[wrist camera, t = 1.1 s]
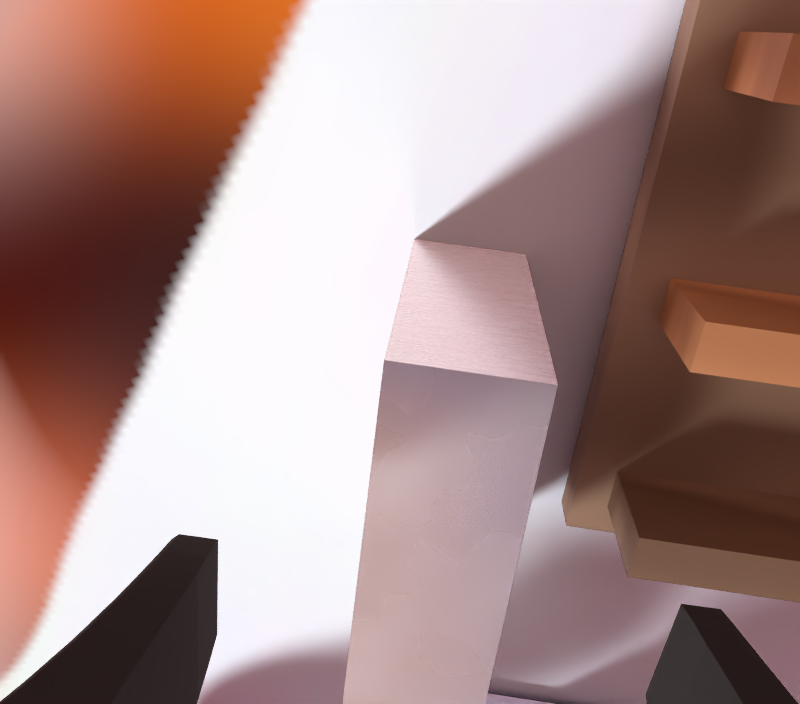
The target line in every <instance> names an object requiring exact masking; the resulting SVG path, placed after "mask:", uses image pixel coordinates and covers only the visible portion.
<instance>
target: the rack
mask: <svg viewBox="0 0 800 704" xmlns="http://www.w3.org/2000/svg"><path fill="white" fill-rule="evenodd" d="M562 506H563V511H564V516H565V521H566V526H573V527H580V528H586V529H593V530H600V531H607V532H613V533H615V535H616V538H617V542H618V545H619V549H620V552H621V556H622V559H623V563H624V566H625V570H626V573H627V577H633V578H640V579H647V580H653V581H660V582H667V583H673V584H680V585H687V586H693V587H700V588H707V589H713V590H720V591H727V592H733V593H740V594H747V595H753V596H760V597H767V598H773V599H780V600H787V601H793V602H800V0H686V2H685V6H684V10H683V14H682V18H681V22H680V26H679V30H678V34H677V38H676V42H675V46H674V50H673V55H672V59H671V63H670V67H669V71H668V75H667V79H666V83H665V87H664V91H663V95H662V99H661V103H660V107H659V111H658V115H657V119H656V123H655V127H654V131H653V135H652V139H651V143H650V147H649V151H648V155H647V159H646V163H645V168H644V172H643V176H642V180H641V184H640V188H639V192H638V196H637V200H636V204H635V208H634V212H633V216H632V220H631V224H630V228H629V232H628V236H627V240H626V244H625V248H624V252H623V256H622V260H621V264H620V268H619V272H618V276H617V281H616V285H615V289H614V293H613V297H612V301H611V305H610V309H609V313H608V317H607V321H606V325H605V329H604V333H603V337H602V341H601V345H600V349H599V353H598V357H597V361H596V365H595V369H594V373H593V377H592V381H591V385H590V390H589V394H588V398H587V402H586V406H585V410H584V414H583V418H582V422H581V426H580V430H579V434H578V438H577V442H576V446H575V450H574V454H573V458H572V462H571V466H570V470H569V474H568V478H567V482H566V486H565V490H564V494H563V498H562Z"/></svg>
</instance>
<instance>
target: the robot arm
mask: <svg viewBox="0 0 800 704" xmlns="http://www.w3.org/2000/svg"><path fill="white" fill-rule="evenodd" d="M217 581H218V540H216V539H209V538H202V537H195V536H187V535H180V534H179V535H177V536H176V537H174V538H173V539H172V540H171V541H170V542H169V543H168V544H167V545H166V546H165V547H164V548H163V550H162V551H161V552H160V553H159V554H158V555H157V556H156V557H155V558H154V559H153V560H152V561H151V562H150V564H149V565H148V566H147V567H146V568H145V569H144V570H143V571H142V572H141V573H140V574H139V575H138V576H137V577H136V578H135V579H134V580H133V581H132V582H131V583H130V584H129V585H128V586H127V587H126V588H125V590H124V591H123V592H122V593H121V594H120V595H119V596H118V597H117V598H116V599H115V600H114V601H113V602H112V603H110V604H109V605H108V606H107V607H106V608H105V609H104V610H103V611H102V612H101V613H100V614H99V615H98V616H97V617H96V618H95V619H94V620H93V621H92V622H91V623H90V624H89V625H88V626H87V627H86V628H84V629H83V630H82V631H81V632H80V633H79V634H78V635H77V636H76V637H75V638H74V639H73V640H72V641H71V642H69V643H68V644H67V645H66V646H65V647H64V648H63V649H61V650H60V651H59V652H58V653H57V654H56V655H55V656H53V657H52V658H51V659H50V660H49V661H48V662H47V663H45V664H44V665H43V666H42V667H41V668H40V669H39V670H37V671H36V672H35V673H34V674H33V675H32V676H31V677H29V678H28V679H27V680H26V681H25V682H24V683H22V684H21V685H20V686H19V687H18V688H16V689H15V690H14V691H13V692H11V693H10V694H9V695H8V696H6V697H5V698H4V699H3V700H2V701H0V704H196V703H197V701H198V698H199V695H200V691H201V688H202V685H203V681H204V678H205V675H206V671H207V668H208V664H209V661H210V657H211V654H212V650H213V647H214V643H215V640H216V636H217ZM646 700H647V704H798V703H797V702H796V700H795V699H794V698H793V697H792V696H791V694H790V693H789V692H788V691H787V690H786V688H785V687H784V686H783V685H782V683H781V682H780V681H779V680H778V679H777V677H776V676H775V675H774V674H773V672H772V671H771V670H770V669H769V668H768V666H767V665H766V664H765V663H764V661H763V660H762V659H761V658H760V656H759V655H758V654H757V653H756V651H755V650H754V649H753V648H752V647H751V645H750V644H749V643H748V642H747V640H746V639H745V638H744V637H743V635H742V634H741V633H740V632H739V630H738V629H737V628H736V627H735V626H734V624H733V623H732V622H731V621H730V620H729V618H728V617H727V616H726V615H725V614H724V612H723V611H722V610H721V609H714V608H707V607H700V606H693V605H685V604H681V606H680V609H679V611H678V614H677V616H676V619H675V621H674V624H673V626H672V629H671V632H670V634H669V637H668V639H667V642H666V644H665V647H664V649H663V652H662V654H661V657H660V660H659V662H658V665H657V667H656V670H655V672H654V675H653V677H652V680H651V682H650V685H649V687H648V690H647V693H646ZM485 704H554V703H547V702H541V701H534V700H528V699H521V698H515V697H508V696H502V695H496V694H489V693H488V694H487V698H486V703H485Z"/></svg>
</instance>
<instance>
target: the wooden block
mask: <svg viewBox="0 0 800 704" xmlns="http://www.w3.org/2000/svg"><path fill="white" fill-rule="evenodd" d="M557 387H558V383H557V379H556V375H555V371H554V366H553V362H552V358H551V354H550V350H549V346H548V342H547V338H546V334H545V330H544V326H543V322H542V318H541V314H540V310H539V306H538V302H537V298H536V294H535V290H534V286H533V281H532V277H531V273H530V269H529V265H528V261H527V257H526V254H520V253H513V252H506V251H499V250H491V249H484V248H477V247H470V246H463V245H455V244H448V243H441V242H434V241H427V240H419V239H414V242H413V246H412V250H411V254H410V258H409V262H408V267H407V271H406V275H405V279H404V283H403V287H402V291H401V295H400V299H399V303H398V307H397V311H396V315H395V319H394V323H393V327H392V331H391V335H390V339H389V343H388V347H387V351H386V355H385V359H384V366H383V375H382V383H381V391H380V399H379V407H378V416H377V424H376V432H375V440H374V448H373V457H372V465H371V473H370V481H369V489H368V498H367V506H366V514H365V522H364V530H363V539H362V547H361V555H360V563H359V571H358V580H357V588H356V596H355V604H354V612H353V621H352V629H351V637H350V645H349V653H348V662H347V670H346V678H345V686H344V694H343V703H342V704H485V703H486V698H487V694H488V690H489V685H490V681H491V677H492V672H493V668H494V663H495V659H496V655H497V650H498V646H499V641H500V637H501V633H502V628H503V624H504V620H505V615H506V611H507V606H508V602H509V598H510V593H511V589H512V585H513V580H514V576H515V571H516V567H517V563H518V558H519V554H520V549H521V545H522V541H523V536H524V532H525V528H526V523H527V519H528V514H529V510H530V506H531V501H532V497H533V493H534V488H535V484H536V479H537V475H538V471H539V466H540V462H541V458H542V453H543V449H544V444H545V440H546V436H547V431H548V427H549V422H550V418H551V414H552V409H553V405H554V401H555V396H556V392H557Z"/></svg>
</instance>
